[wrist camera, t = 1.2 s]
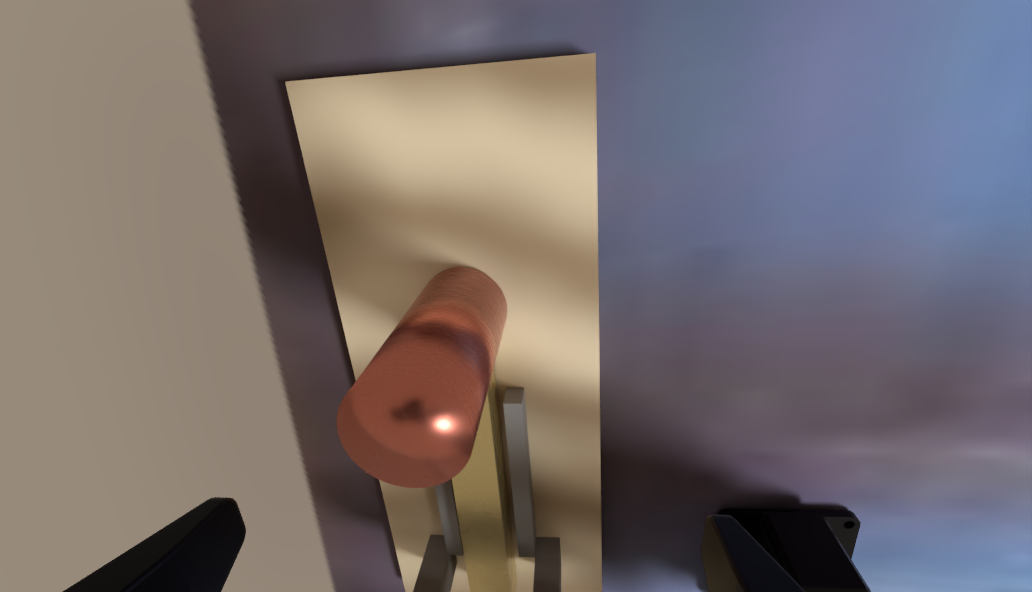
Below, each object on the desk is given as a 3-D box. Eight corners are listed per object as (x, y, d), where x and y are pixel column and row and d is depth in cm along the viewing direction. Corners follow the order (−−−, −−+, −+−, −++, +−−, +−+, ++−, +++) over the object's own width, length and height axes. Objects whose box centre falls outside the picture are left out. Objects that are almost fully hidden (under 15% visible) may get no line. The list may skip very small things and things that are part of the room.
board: (601, 588, 27) (613, 748, 20) (412, 581, 28) (365, 730, 22) (593, 55, 17) (614, 27, 10) (299, 82, 18) (145, 73, 11)
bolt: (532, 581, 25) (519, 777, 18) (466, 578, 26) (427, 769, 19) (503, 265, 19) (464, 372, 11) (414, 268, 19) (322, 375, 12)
